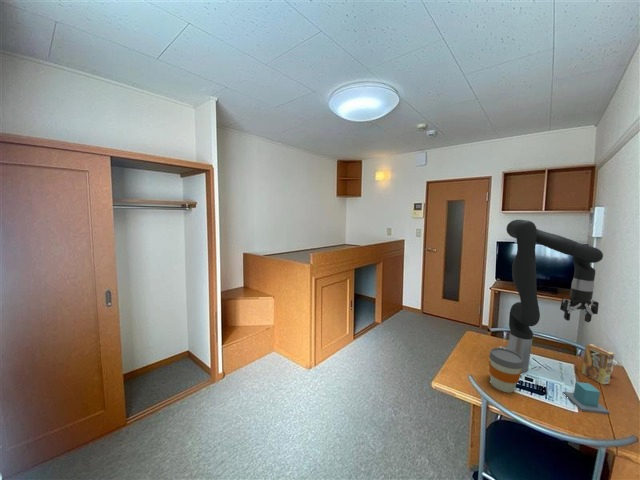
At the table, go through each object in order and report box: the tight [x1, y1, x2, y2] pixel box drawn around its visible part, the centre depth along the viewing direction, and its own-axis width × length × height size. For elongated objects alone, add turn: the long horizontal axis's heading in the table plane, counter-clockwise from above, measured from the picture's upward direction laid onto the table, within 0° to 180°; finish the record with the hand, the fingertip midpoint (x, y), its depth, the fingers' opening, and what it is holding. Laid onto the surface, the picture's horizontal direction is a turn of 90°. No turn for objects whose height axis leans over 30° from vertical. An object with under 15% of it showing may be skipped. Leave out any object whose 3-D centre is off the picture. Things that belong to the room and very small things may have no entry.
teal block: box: [573, 381, 601, 407], centre depth 112 cm, size 5×5×7 cm
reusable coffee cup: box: [488, 347, 523, 393], centre depth 121 cm, size 13×13×15 cm
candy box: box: [581, 343, 615, 385], centre depth 129 cm, size 9×4×15 cm, turn 13°
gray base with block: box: [562, 391, 610, 415], centre depth 112 cm, size 10×10×6 cm
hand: (576, 320), depth 130 cm, fingers open, 8 cm apart
